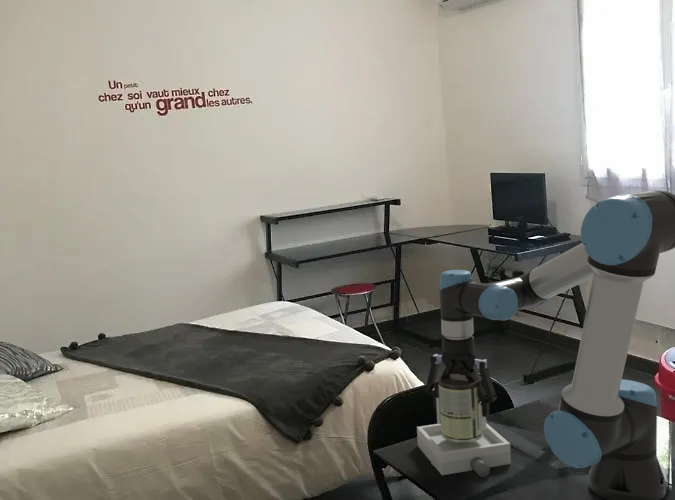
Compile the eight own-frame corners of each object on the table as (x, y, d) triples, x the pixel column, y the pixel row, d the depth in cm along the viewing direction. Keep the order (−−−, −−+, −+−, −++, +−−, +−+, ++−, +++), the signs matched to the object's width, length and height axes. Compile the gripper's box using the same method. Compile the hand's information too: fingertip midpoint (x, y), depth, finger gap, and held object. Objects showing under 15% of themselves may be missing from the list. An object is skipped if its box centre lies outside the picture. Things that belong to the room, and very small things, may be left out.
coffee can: (439, 426, 173) (436, 371, 171) (481, 425, 172) (479, 370, 170) (441, 443, 163) (438, 385, 161) (485, 442, 162) (483, 384, 160)
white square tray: (518, 471, 158) (518, 450, 157) (448, 483, 155) (447, 461, 154) (480, 436, 178) (480, 417, 178) (417, 445, 175) (416, 426, 174)
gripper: (509, 335, 161) (512, 427, 164) (421, 327, 174) (425, 413, 177) (498, 344, 155) (501, 438, 158) (407, 335, 167) (412, 423, 170)
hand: (461, 425), depth 167 cm, fingers closed on coffee can, 10 cm apart
